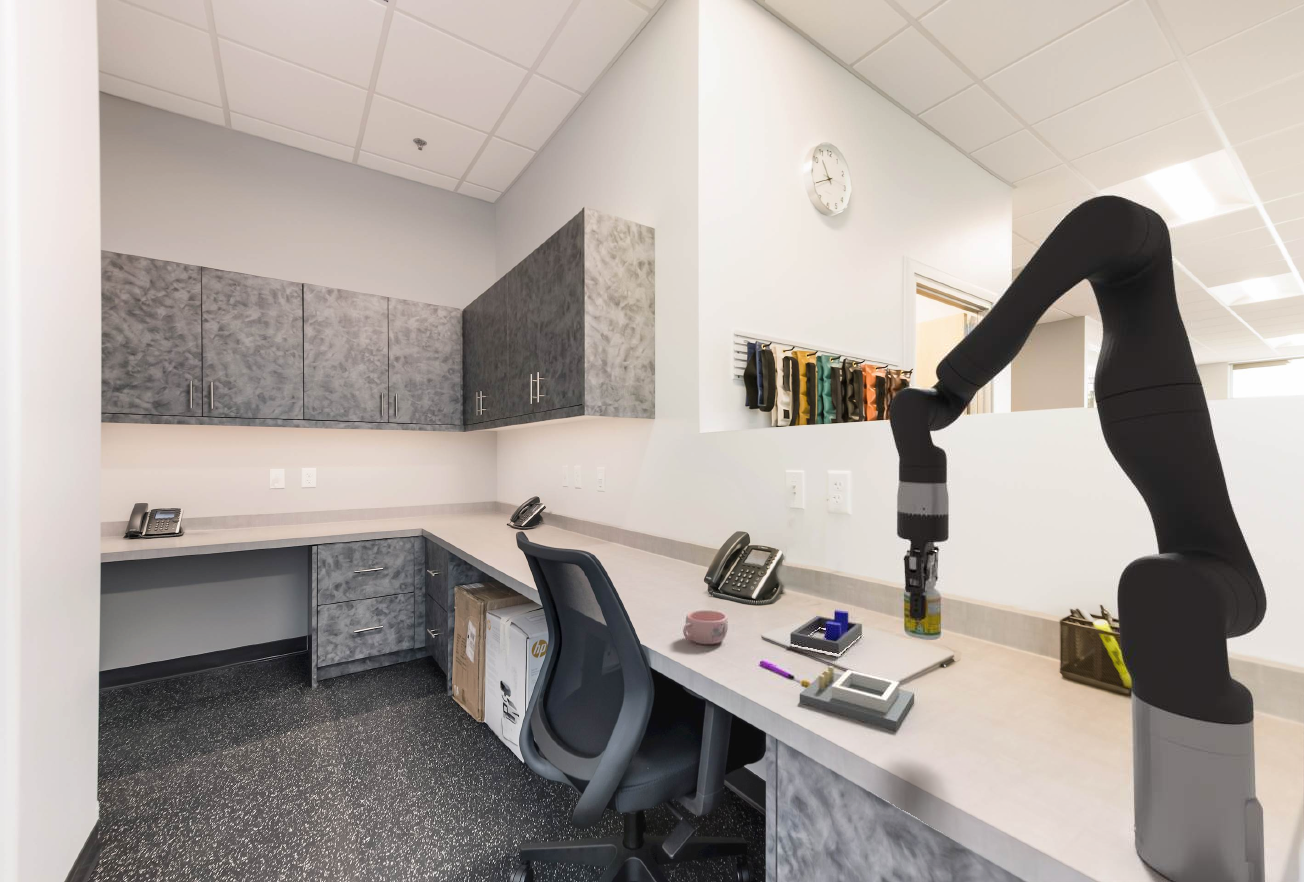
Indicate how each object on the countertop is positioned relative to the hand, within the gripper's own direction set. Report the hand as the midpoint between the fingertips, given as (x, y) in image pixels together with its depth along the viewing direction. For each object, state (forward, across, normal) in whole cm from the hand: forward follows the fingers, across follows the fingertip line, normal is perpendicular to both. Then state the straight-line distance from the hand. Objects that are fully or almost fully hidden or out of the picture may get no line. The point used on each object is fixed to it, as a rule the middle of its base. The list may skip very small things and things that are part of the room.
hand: (922, 613), depth 87 cm
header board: (+18, +2, +11) cm, 21 cm away
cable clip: (+19, +30, +25) cm, 43 cm away
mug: (+19, +11, +49) cm, 54 cm away
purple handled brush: (+19, +5, +24) cm, 31 cm away
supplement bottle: (+4, 0, 0) cm, 4 cm away
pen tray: (+19, +29, +26) cm, 43 cm away
